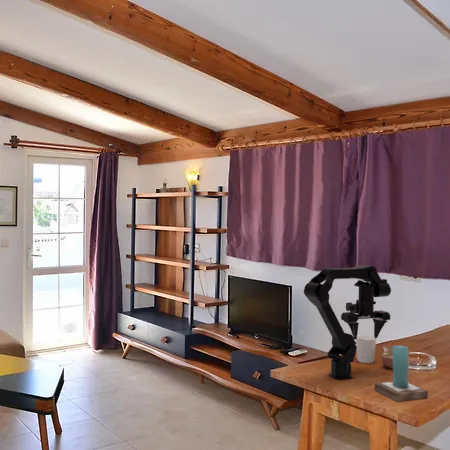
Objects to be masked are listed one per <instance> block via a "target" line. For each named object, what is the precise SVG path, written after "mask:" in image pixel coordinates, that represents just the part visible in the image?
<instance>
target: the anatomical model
mask: <svg viewBox="0 0 450 450" xmlns="http://www.w3.org/2000/svg"><path fill="white" fill-rule="evenodd" d="M393 346H394V345H390V344H389V345H384V346H382V354H380V355H381V357H380V358H381V361H382V363H383V364H384V366H386V367H388V368H389V369H392V370H393Z"/></svg>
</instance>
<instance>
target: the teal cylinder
mask: <svg viewBox="0 0 450 450" xmlns="http://www.w3.org/2000/svg"><path fill="white" fill-rule="evenodd" d="M392 346H393V369H392V382H393V386H395V387H398V388H407V387H408V382H409V346H406V345H400V344H399V345H392Z"/></svg>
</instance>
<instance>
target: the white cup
mask: <svg viewBox="0 0 450 450" xmlns="http://www.w3.org/2000/svg"><path fill="white" fill-rule="evenodd" d="M355 342H356V343H357V344H356V346H357V350H356V360H357V362H358V363H363V364H373V363H375V356H376V343H377V338H375V337H374V335H367V334H360V335H357V339H356V340H355Z"/></svg>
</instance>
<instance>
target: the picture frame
mask: <svg viewBox="0 0 450 450" xmlns="http://www.w3.org/2000/svg"><path fill="white" fill-rule="evenodd" d="M374 391H376V392H378V393H379V394H382V395H384V396H386V397H387V398H389V399H391V400H393V401H396V402H405V401H406V402H407V401H412V400H420V399H427V398H428V397H429V396H428V390H426V389H425V388H422V387H419V386H417V385H415V384H413V383H410V382H409V381H408V387H407V388H398V387H395V386H393V381H387V382H376V383H374Z"/></svg>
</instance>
